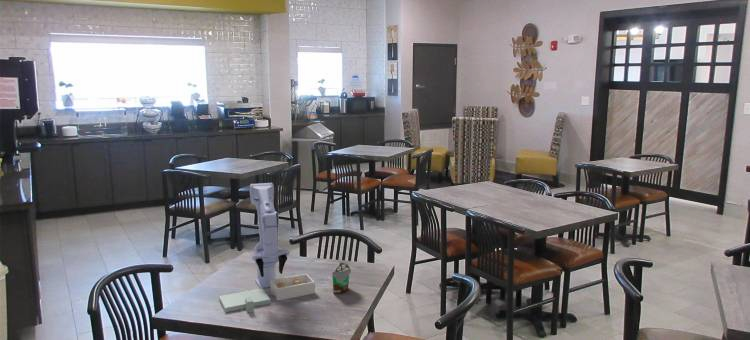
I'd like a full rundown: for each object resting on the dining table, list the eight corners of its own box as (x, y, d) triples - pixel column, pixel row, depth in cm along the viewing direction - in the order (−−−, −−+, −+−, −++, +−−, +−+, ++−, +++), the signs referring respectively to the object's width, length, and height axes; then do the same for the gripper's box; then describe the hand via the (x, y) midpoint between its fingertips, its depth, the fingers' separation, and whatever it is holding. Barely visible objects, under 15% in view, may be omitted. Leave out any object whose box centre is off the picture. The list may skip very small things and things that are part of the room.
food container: (346, 296, 218) (346, 273, 216) (332, 295, 220) (332, 272, 218) (354, 284, 230) (354, 262, 228) (340, 283, 231) (340, 261, 229)
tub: (270, 291, 223) (270, 280, 222) (306, 284, 230) (306, 273, 229) (277, 300, 214) (277, 289, 213) (314, 293, 221) (314, 282, 220)
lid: (219, 300, 214) (218, 290, 213) (262, 292, 222) (262, 282, 221) (227, 316, 201) (226, 306, 200) (273, 307, 208) (272, 297, 208)
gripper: (255, 248, 206) (256, 281, 209) (291, 242, 212) (291, 274, 215) (250, 242, 212) (251, 274, 215) (285, 237, 218) (286, 268, 221)
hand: (271, 274), depth 215 cm, fingers open, 7 cm apart
